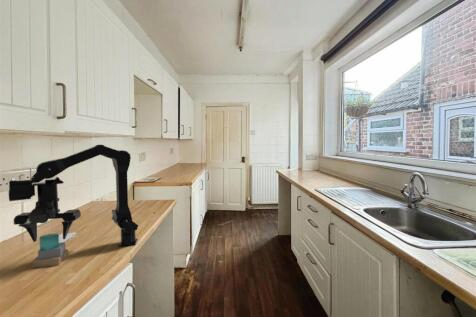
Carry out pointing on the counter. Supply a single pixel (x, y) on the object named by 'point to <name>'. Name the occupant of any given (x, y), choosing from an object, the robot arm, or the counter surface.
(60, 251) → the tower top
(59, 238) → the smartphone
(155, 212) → the counter surface
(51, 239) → the teal round block
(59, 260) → the tower base
